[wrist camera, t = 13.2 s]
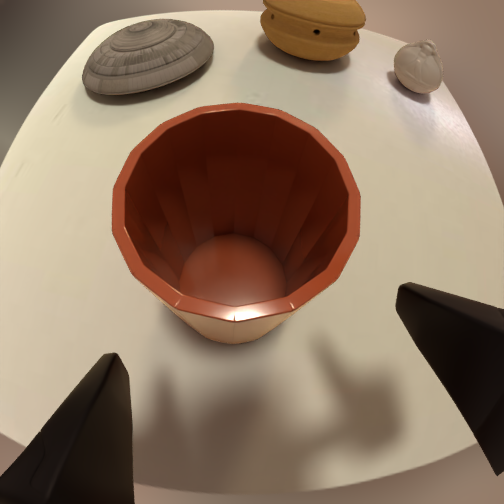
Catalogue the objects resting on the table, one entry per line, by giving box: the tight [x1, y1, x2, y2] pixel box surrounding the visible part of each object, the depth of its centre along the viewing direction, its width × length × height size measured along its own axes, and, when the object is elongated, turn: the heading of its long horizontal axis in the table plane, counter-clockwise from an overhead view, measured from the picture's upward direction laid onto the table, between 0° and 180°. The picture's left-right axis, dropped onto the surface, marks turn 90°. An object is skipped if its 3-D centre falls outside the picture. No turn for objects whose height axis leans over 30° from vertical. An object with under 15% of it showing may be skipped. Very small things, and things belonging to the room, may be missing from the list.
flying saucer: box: [82, 19, 214, 95], centre depth 24 cm, size 15×15×6 cm
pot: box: [260, 0, 366, 61], centre depth 24 cm, size 12×12×10 cm
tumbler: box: [112, 103, 361, 344], centre depth 13 cm, size 7×7×11 cm
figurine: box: [394, 40, 443, 94], centre depth 25 cm, size 6×7×8 cm
